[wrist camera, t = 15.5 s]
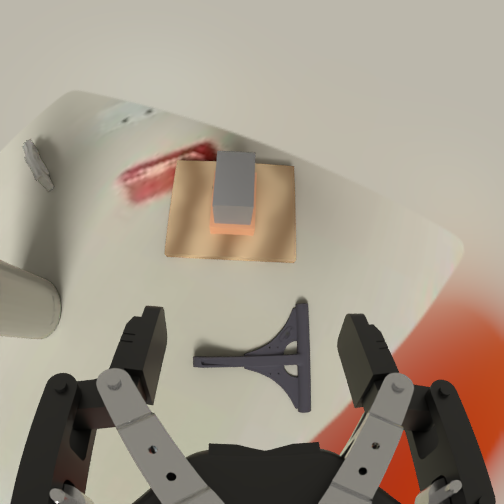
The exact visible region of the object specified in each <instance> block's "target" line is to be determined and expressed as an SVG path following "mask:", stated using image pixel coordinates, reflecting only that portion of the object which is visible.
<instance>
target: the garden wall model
mask: <svg viewBox="0 0 504 504" xmlns="http://www.w3.org/2000/svg"><path fill="white" fill-rule="evenodd" d="M31 141H32V140H31V139H29V140H28V141H26V142H24V145H23V149H24V152H25V161H26V162H27V164H28V166H30V169H31V171H32V173H33V175H34V177H35V180H36V181H37V180H38V181H39V182H40V183H41V184H42V185H43V186H44V187H45V188H46V189H47V190H48V191H50V190H51V189H53V188H54V186H53V184H52V182H51V180H50V178H49V176H48V175H49V172H48V170H47V168H46V166H45V164H44V163H43V161H42V160H41V158H40V156H39V155H40V154H39V152H38V150H37V148H36V146H35V145H34V143H33V142H31Z"/></svg>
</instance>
